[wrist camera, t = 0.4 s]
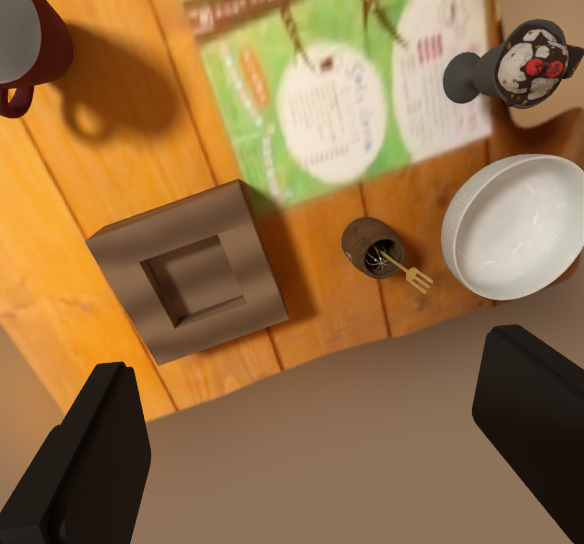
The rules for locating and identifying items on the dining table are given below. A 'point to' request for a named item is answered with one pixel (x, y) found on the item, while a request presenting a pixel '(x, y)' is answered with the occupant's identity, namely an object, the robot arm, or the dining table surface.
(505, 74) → the sundae
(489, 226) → the cereal bowl
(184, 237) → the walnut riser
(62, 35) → the mug
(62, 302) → the dining table surface
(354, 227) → the utensil holder
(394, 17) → the dining table surface
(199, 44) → the dining table surface
